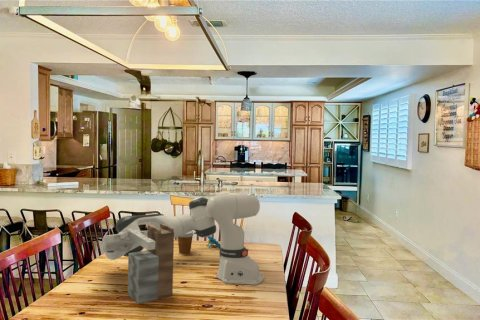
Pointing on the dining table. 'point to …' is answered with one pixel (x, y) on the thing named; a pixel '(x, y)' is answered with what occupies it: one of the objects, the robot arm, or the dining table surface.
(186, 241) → the disposable coffee cup
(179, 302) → the dining table surface
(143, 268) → the stand
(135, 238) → the steel bar
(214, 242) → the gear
